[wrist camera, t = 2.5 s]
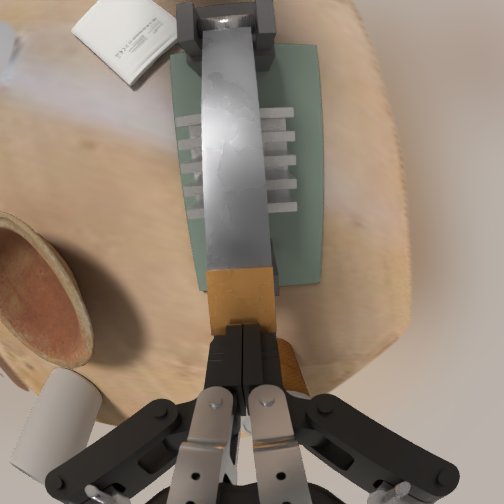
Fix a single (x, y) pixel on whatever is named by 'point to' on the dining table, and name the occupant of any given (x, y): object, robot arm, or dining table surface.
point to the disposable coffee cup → (284, 379)
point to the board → (305, 171)
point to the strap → (234, 179)
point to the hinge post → (259, 8)
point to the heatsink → (274, 160)
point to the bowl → (42, 297)
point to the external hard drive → (127, 35)
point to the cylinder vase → (57, 424)
